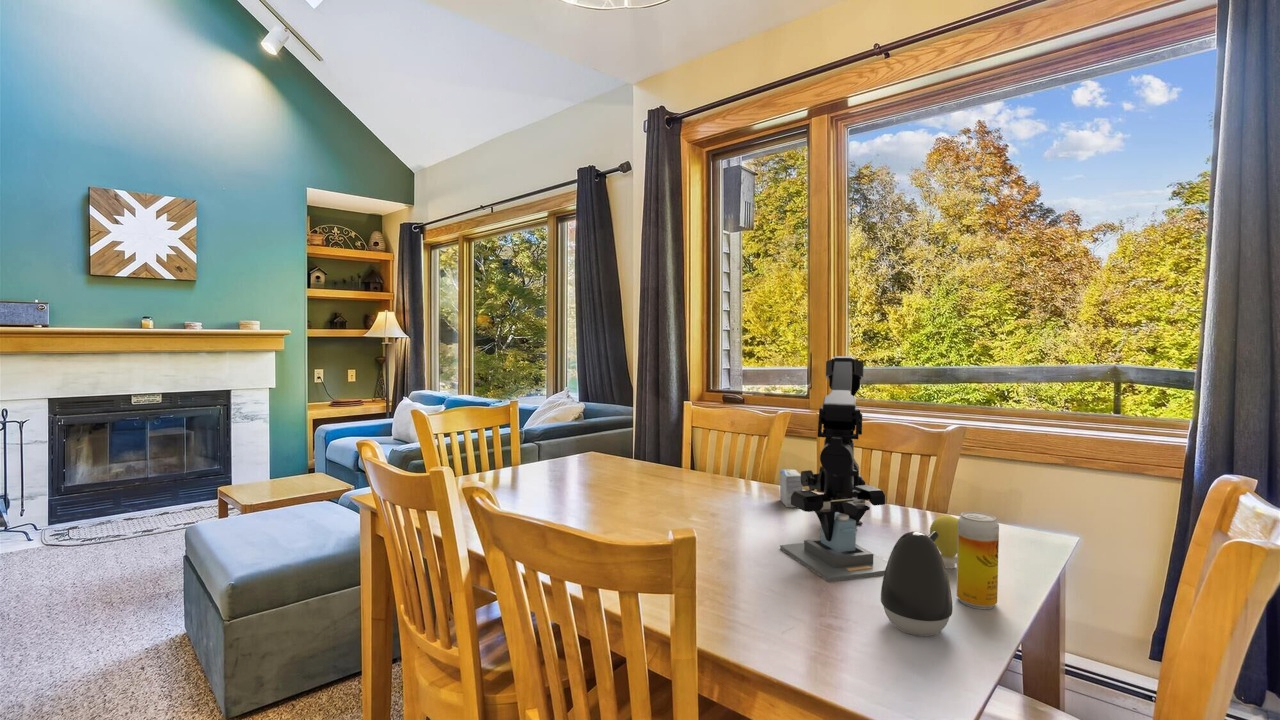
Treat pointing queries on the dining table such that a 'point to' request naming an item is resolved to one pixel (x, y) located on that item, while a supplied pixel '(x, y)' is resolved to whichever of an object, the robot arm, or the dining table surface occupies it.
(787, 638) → the dining table surface
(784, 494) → the medicine box
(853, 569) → the chassis plate
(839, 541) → the block
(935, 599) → the dark egg-shaped diffuser
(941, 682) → the dining table surface
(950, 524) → the light bulb
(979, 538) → the beer can
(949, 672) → the dining table surface
